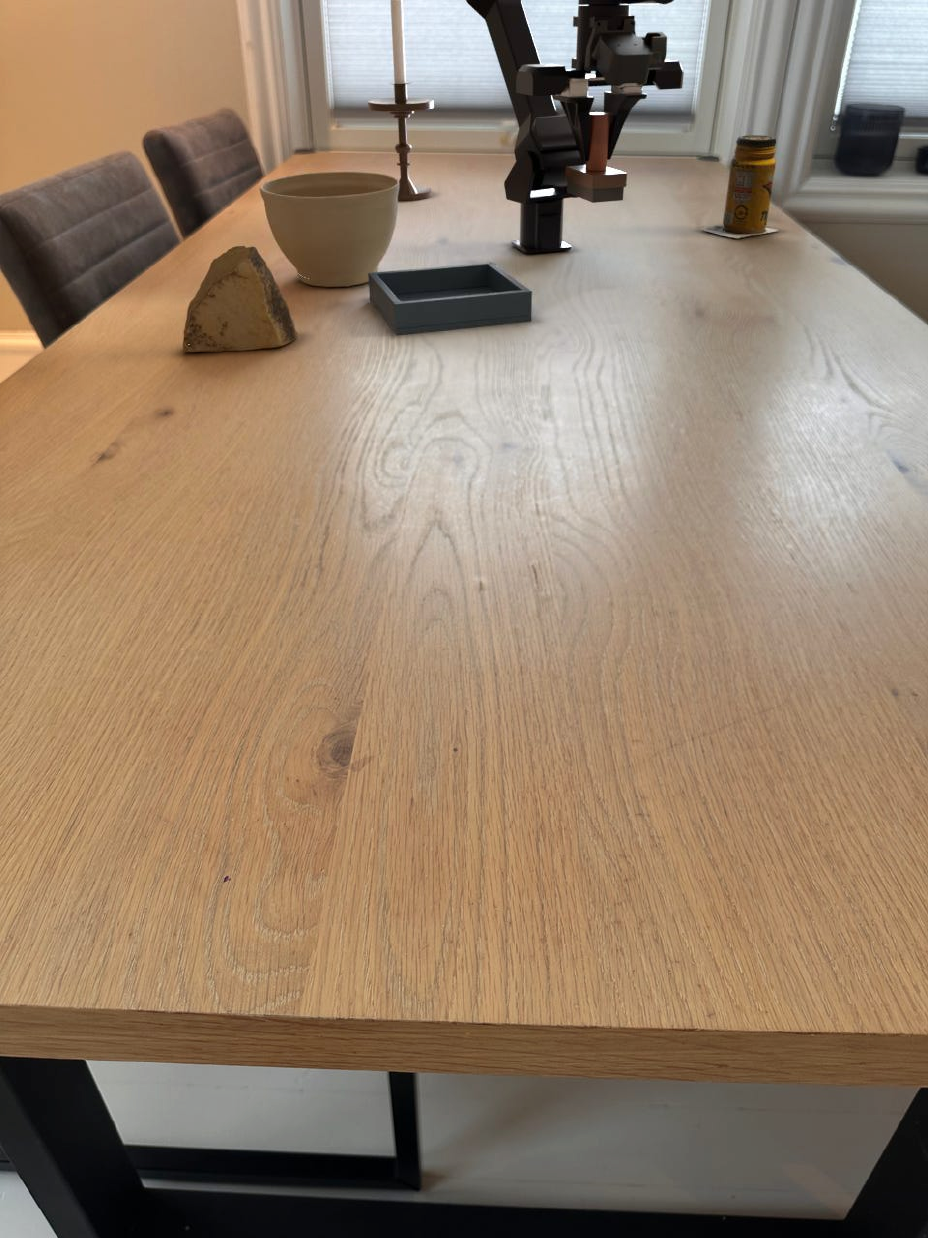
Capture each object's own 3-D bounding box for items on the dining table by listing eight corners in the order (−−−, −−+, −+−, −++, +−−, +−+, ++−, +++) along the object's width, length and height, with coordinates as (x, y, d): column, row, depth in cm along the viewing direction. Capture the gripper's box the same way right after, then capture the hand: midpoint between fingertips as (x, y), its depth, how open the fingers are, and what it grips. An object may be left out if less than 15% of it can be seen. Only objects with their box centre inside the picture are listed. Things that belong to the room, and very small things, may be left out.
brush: (564, 192, 118) (567, 111, 113) (596, 189, 119) (601, 109, 114) (591, 203, 112) (596, 117, 107) (625, 200, 113) (631, 115, 108)
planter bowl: (244, 281, 115) (231, 184, 109) (344, 257, 125) (337, 167, 119) (330, 304, 106) (320, 200, 100) (431, 276, 116) (427, 179, 110)
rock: (152, 338, 89) (244, 330, 86) (159, 250, 89) (251, 239, 86) (217, 376, 99) (301, 370, 96) (223, 296, 100) (307, 289, 96)
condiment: (778, 231, 134) (793, 137, 127) (736, 239, 130) (750, 142, 124) (740, 223, 139) (752, 132, 132) (698, 230, 135) (709, 137, 129)
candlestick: (448, 193, 164) (443, -54, 145) (413, 203, 157) (402, -56, 137) (398, 188, 169) (386, -51, 150) (361, 197, 162) (343, -53, 142)
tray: (369, 300, 107) (367, 272, 105) (492, 289, 110) (492, 261, 109) (396, 335, 96) (394, 304, 94) (531, 321, 99) (532, 290, 98)
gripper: (554, 7, 96) (549, 175, 104) (716, 2, 100) (699, 164, 109) (515, 6, 105) (513, 161, 113) (665, 2, 109) (653, 152, 118)
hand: (595, 160), depth 113 cm, fingers closed on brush, 2 cm apart
